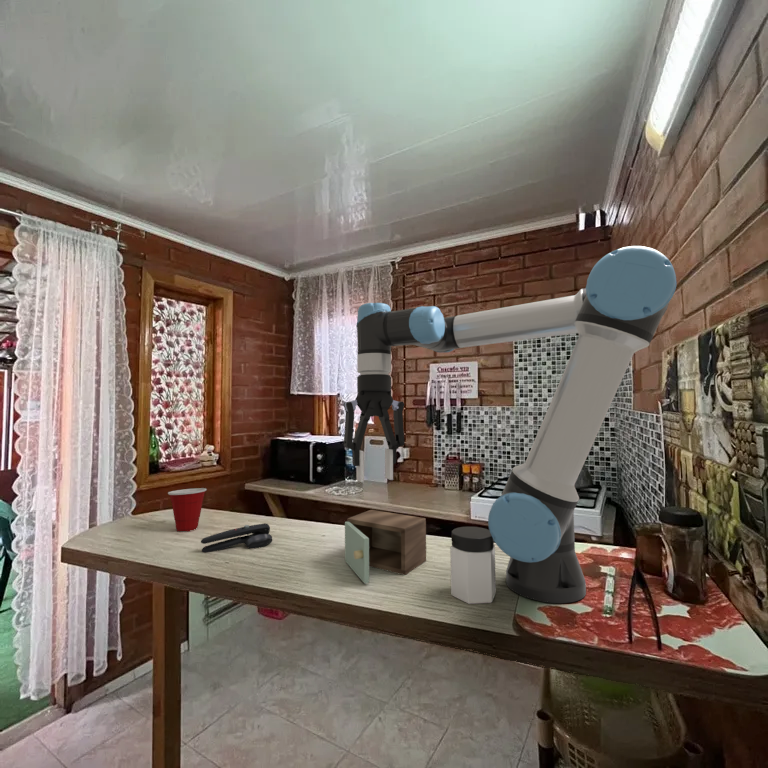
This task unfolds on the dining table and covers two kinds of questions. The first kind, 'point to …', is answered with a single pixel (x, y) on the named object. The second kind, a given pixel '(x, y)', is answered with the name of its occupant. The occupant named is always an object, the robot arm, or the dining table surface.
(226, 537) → the can opener
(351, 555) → the door
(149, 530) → the dining table surface
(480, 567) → the jar
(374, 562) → the case
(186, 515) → the plastic cup
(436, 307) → the robot arm
